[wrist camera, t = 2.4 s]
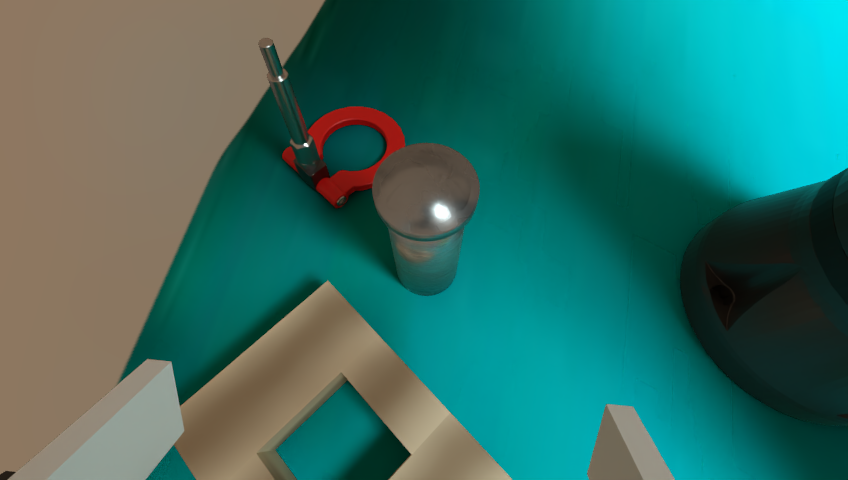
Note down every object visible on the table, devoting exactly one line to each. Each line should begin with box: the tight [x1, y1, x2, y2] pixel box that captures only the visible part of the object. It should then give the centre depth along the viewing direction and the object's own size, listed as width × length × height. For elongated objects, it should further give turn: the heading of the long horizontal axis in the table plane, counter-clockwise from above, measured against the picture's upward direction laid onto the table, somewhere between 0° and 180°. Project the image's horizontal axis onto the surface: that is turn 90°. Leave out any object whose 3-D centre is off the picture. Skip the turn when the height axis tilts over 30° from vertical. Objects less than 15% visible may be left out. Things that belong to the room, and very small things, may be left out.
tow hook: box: [258, 38, 405, 208], centre depth 28 cm, size 8×13×9 cm
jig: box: [174, 281, 512, 480], centre depth 23 cm, size 16×12×3 cm
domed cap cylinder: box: [372, 143, 479, 296], centre depth 24 cm, size 5×5×11 cm
